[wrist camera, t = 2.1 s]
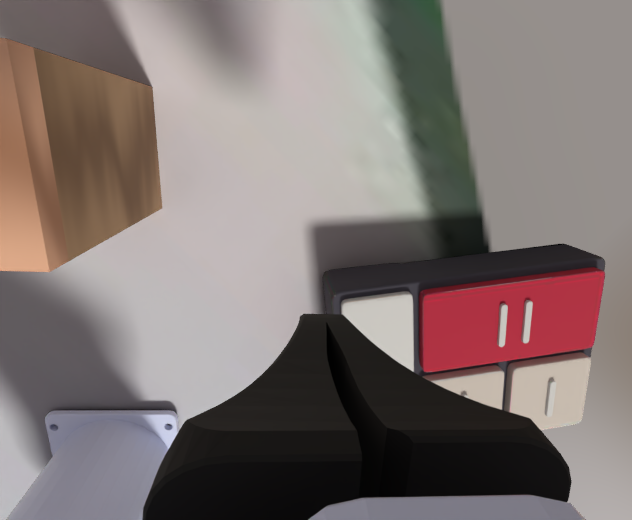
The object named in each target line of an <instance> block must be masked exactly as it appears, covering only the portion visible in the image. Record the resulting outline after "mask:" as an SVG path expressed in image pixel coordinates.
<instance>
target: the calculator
mask: <svg viewBox="0 0 632 520" xmlns="http://www.w3.org/2000/svg"><path fill="white" fill-rule="evenodd" d="M604 269H605V261H604V259H603V258H602V257H599V256H597V255H594V254H591V253H588V252H586V251H583V250H580V249H578V248H575V247H572V246H569V245H567V244H554V245H546V246H538V247H530V248H522V249H514V250H506V251H499V252H491V253H482V254H474V255H467V256H459V257H451V258H443V259H435V260H427V261H419V262H411V263H403V264H399V263H388V264H379V265H369V266H360V267H351V268H342V269H333V270H328V271H326V272H325V273H324V275H323V287H324V298H325V308H326V314H343V315H344V316H345V317H346V318H347V319H348V320H349V321H350V322H351V323H352V324H353V325H354V326H355V327H356V328H357V329H358V330H359V331H360V332H361V333H362V334H364V335H365V336H366V337H367V338H368V339H369V340H370V341H371V342H372V343H374V344H375V345H376V346H377V347H378V348H380V349H381V350H382V351H384V352H385V353H386V354H388V355H389V356H390V357H391V358H393V359H394V360H396V361H397V362H399V363H400V364H402V365H403V366H405V367H406V368H408V369H410V370H411V371H413V372H414V373H416V374H418V375H420V376H421V377H423V378H425V379H427V380H429V381H431V382H433V383H435V384H437V385H439V386H441V387H443V388H445V389H447V390H450V391H452V392H454V393H456V394H459V395H461V396H464V397H466V398H469V399H472V400H474V401H477V402H479V403H482V404H485V405H488V406H491V407H494V408H498V409H501V410H504V411H508V412H511V413H514V414H518V415H521V416H524V417H528V418H530V419H531V420H532V421H533V422H534V423H535V424H536V425H537V427H538V428H539V429H540V430H543V429H550V428H556V427H561V426H568V425H574V424H578V423H580V422H581V419H582V415H583V409H584V403H585V397H586V390H587V384H588V378H589V372H590V366H591V358H590V357H591V350H592V346H593V344H594V340H595V335H596V328H597V322H598V315H599V310H600V303H601V296H602V291H603V285H604V279H605V272H604Z"/></svg>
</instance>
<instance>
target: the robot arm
mask: <svg viewBox="0 0 632 520" xmlns="http://www.w3.org/2000/svg"><path fill="white" fill-rule="evenodd" d="M45 424H46V429H47V433H48V438H49V443H50V447H51V452H52V456H53V457H52V458H51V460H50V461H49V462H48V464H47V465H46V466H45V468H44V469H43V470H42V472H41V473H40V474H39V476H38V477H37V478H36V480H35V481H34V482H33V484H32V485H31V487H30V488H29V489H28V491H27V492H26V493H25V495H24V496H23V497H22V499H21V500H20V501H19V503H18V504H17V505H16V507H15V508H14V509H13V511H12V512H11V513H10V515H9V516H8V517H7V519H6V520H586V519H585V518H584V517H583V516H582V515H581V514H580V513H579V512H578V511H577V510H576V509H575V508H574V507H573V506H572V504H571V503H567V501H568V498H569V493H570V487H571V477H570V472H569V467H568V465H567V463H566V462H565V460H564V459H563V457H562V456H561V454H560V453H559V452H558V450H557V449H556V448H555V447H554V446H553V444H552V443H551V442H550V441H549V440H548V439H547V437H546V436H545V435H544V434H543V433H542V431H541V430H540V429H539V428H538V427H537V425H536V424H535V423H534V422H533V421H532V420H531V419H530V418H528V417H524V416H521V415H518V414H514V413H511V412H508V411H504V410H501V409H498V408H494V407H491V406H488V405H485V404H482V403H479V402H477V401H474V400H472V399H469V398H466V397H464V396H461V395H459V394H456V393H454V392H452V391H450V390H447V389H445V388H443V387H441V386H439V385H437V384H435V383H433V382H431V381H429V380H427V379H425V378H423V377H421V376H420V375H418V374H416V373H414V372H413V371H411V370H410V369H408V368H406V367H405V366H403V365H402V364H400V363H399V362H397V361H396V360H394V359H393V358H391V357H390V356H389V355H388V354H386V353H385V352H384V351H382V350H381V349H380V348H378V347H377V346H376V345H375V344H374V343H372V342H371V341H370V340H369V339H368V338H367V337H366V336H365V335H364V334H362V333H361V332H360V331H359V330H358V329H357V328H356V327H355V326H354V325H353V324H352V323H351V322H350V321H349V320H348V319H347V318H346V317H345V316H344V315H343V314H303V315H302V316H301V317H300V320H299V324H298V326H297V328H296V330H295V332H294V334H293V336H292V337H291V339H290V341H289V343H288V344H287V346H286V347H285V348H284V350H283V351H282V352H281V354H280V355H279V356H278V358H277V359H276V360H275V361H274V362H273V364H272V365H271V366H270V367H269V368H268V369H267V370H266V371H265V372H264V373H263V374H262V375H261V376H260V377H259V378H258V379H256V380H255V381H254V382H253V383H252V384H251V385H249V386H248V387H247V388H245V389H244V390H243V391H241V392H240V393H238V394H237V395H235V396H233V397H232V398H230V399H228V400H227V401H225V402H223V403H222V404H220V405H218V406H216V407H214V408H212V409H210V410H207V411H205V412H203V413H201V414H199V415H197V416H195V417H193V418H190V419H188V420H186V421H185V423H184V424H183V426H182V427H181V429H180V431H179V428H178V417H177V414H176V413H175V412H174V411H170V410H61V411H51V412H49V413H48V414H47V415H46V417H45ZM54 424H56V425H57V426H55V425H54ZM167 424H171V425H172V426H169V425H167Z"/></svg>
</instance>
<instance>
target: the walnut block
mask: <svg viewBox="0 0 632 520" xmlns="http://www.w3.org/2000/svg"><path fill="white" fill-rule="evenodd" d="M161 208H162V200H161V188H160V176H159V163H158V151H157V139H156V127H155V114H154V102H153V90H152V87H151V86H148V85H145V84H142V83H139V82H136V81H133V80H130V79H127V78H124V77H121V76H118V75H115V74H112V73H109V72H106V71H103V70H100V69H97V68H94V67H91V66H88V65H85V64H82V63H79V62H76V61H73V60H70V59H67V58H64V57H61V56H58V55H54V54H51V53H48V52H45V51H42V50H39V49H36V48H33V47H30V46H27V45H24V44H21V43H18V42H15V41H12V40H9V39H6V38H0V271H29V272H50V271H52V270H54V269H56V268H58V267H59V266H61V265H63V264H65V263H66V262H68V261H70V260H72V259H73V258H75V257H77V256H79V255H80V254H82V253H84V252H86V251H87V250H89V249H91V248H93V247H95V246H96V245H98V244H100V243H102V242H103V241H105V240H107V239H109V238H110V237H112V236H114V235H116V234H117V233H119V232H121V231H123V230H124V229H126V228H128V227H130V226H132V225H133V224H135V223H137V222H139V221H140V220H142V219H144V218H146V217H147V216H149V215H151V214H153V213H154V212H156V211H158V210H160V209H161Z"/></svg>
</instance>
